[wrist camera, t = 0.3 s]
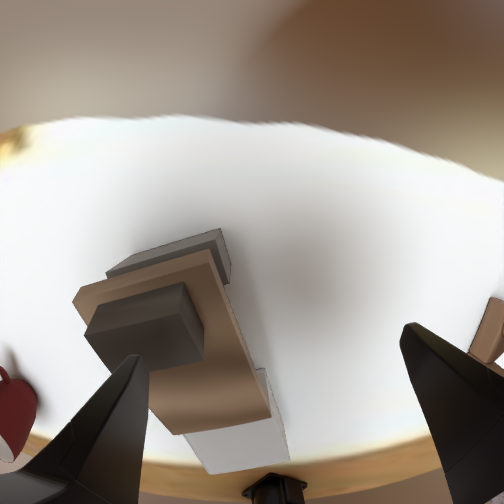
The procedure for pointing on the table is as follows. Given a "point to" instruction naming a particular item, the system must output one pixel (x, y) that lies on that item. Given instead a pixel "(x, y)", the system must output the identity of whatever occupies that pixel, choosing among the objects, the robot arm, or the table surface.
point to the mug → (15, 415)
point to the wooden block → (490, 336)
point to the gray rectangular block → (268, 430)
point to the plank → (222, 351)
